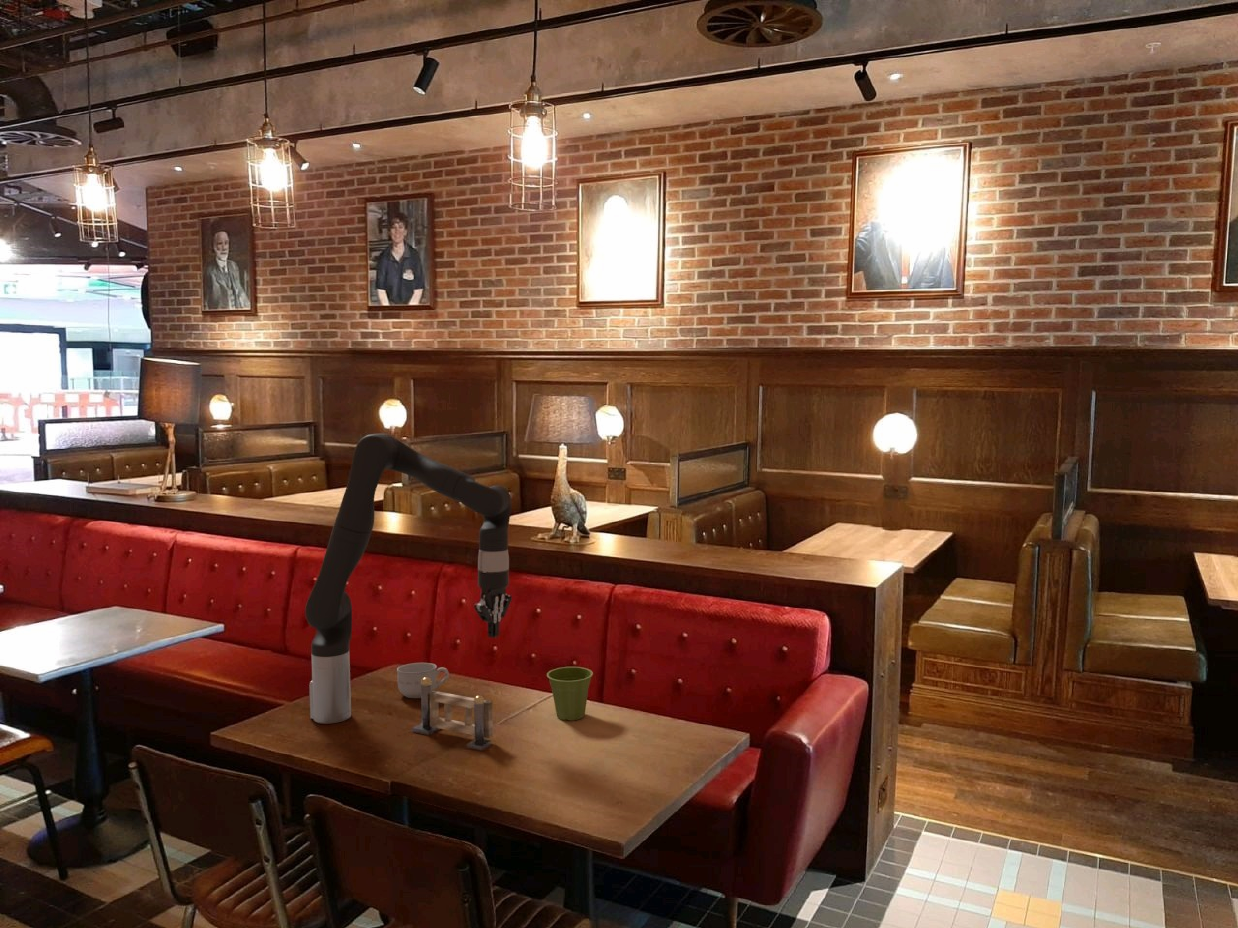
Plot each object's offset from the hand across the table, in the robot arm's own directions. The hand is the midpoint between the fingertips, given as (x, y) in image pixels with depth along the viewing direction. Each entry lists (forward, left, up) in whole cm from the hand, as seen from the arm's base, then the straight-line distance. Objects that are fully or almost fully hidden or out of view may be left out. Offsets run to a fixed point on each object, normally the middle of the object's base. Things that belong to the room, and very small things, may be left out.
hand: (493, 636), depth 227 cm
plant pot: (+13, +15, -23) cm, 31 cm away
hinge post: (-14, -9, -23) cm, 28 cm away
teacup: (-31, +11, -23) cm, 40 cm away
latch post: (+4, -11, -23) cm, 26 cm away
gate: (-4, -9, -22) cm, 24 cm away
